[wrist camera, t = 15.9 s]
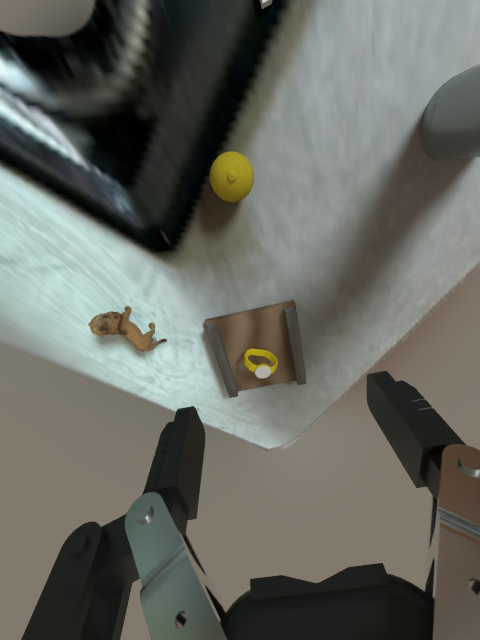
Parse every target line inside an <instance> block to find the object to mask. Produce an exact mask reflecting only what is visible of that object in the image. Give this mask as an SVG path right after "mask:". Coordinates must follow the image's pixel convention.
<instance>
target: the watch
mask: <svg viewBox="0 0 480 640" xmlns="http://www.w3.org/2000/svg"><path fill="white" fill-rule="evenodd" d="M250 355H256V356H264V357H266V358H268V359H269V360H270V361H271V362H272V363H273V365H274V366H272V367H270V366H269V365H267V364H259V365H258V366H257V365H254V364H252V363H251V362H250V361H249V360H248V356H250ZM243 361H244V365H245V366H246V367H247V368H248V369H249V370H250V371H252V372H254V373H255V375H256V376H257V377H258V378H267V377H268V376H270V374H271V373H273V372H274V371H275V370H276V367H277V364H278V361H277V358H276V357H275V356H274V355H273V354H272V353H271V352H269V351H267V350H260V349H253V348H252V349H249V350H247V351H246V353H245V355H244V359H243Z"/></svg>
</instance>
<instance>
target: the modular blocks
mask: <svg viewBox="0 0 480 640" xmlns="http://www.w3.org/2000/svg"><path fill="white" fill-rule="evenodd" d="M271 3H272V0H260V4H261V8H262V9H264V8H265V7H267V6H269V5H271Z"/></svg>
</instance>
